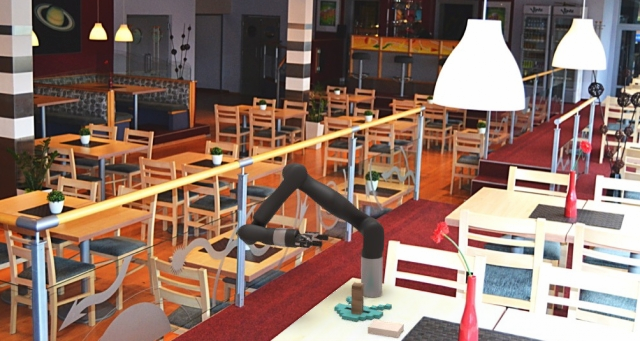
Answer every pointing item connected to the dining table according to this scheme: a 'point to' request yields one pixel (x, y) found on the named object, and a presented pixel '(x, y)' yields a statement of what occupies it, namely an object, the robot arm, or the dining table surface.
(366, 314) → the alien figure
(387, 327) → the tile
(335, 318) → the dining table surface
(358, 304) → the block
